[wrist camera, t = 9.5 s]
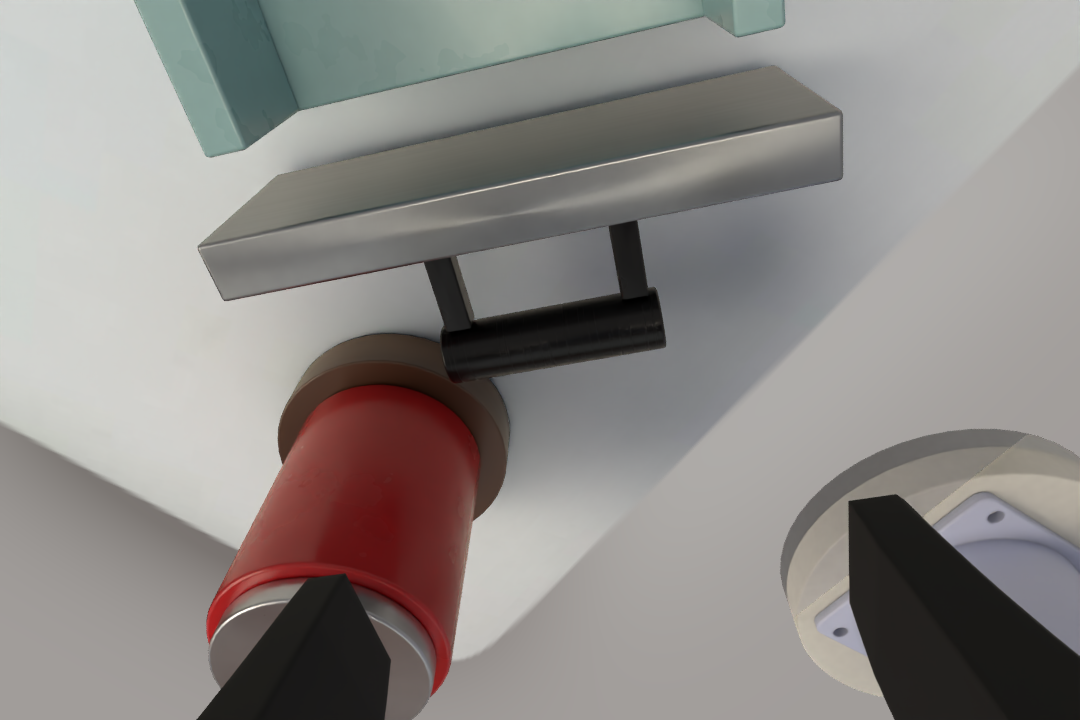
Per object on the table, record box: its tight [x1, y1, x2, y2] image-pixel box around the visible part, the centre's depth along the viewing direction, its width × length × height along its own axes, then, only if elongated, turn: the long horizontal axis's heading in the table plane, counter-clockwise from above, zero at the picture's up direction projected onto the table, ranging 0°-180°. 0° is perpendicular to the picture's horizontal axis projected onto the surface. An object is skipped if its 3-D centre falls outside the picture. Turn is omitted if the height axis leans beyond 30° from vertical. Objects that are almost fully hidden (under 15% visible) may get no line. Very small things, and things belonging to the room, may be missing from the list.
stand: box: [278, 334, 510, 521], centre depth 21 cm, size 7×7×2 cm
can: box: [207, 385, 480, 720], centre depth 18 cm, size 5×5×7 cm
